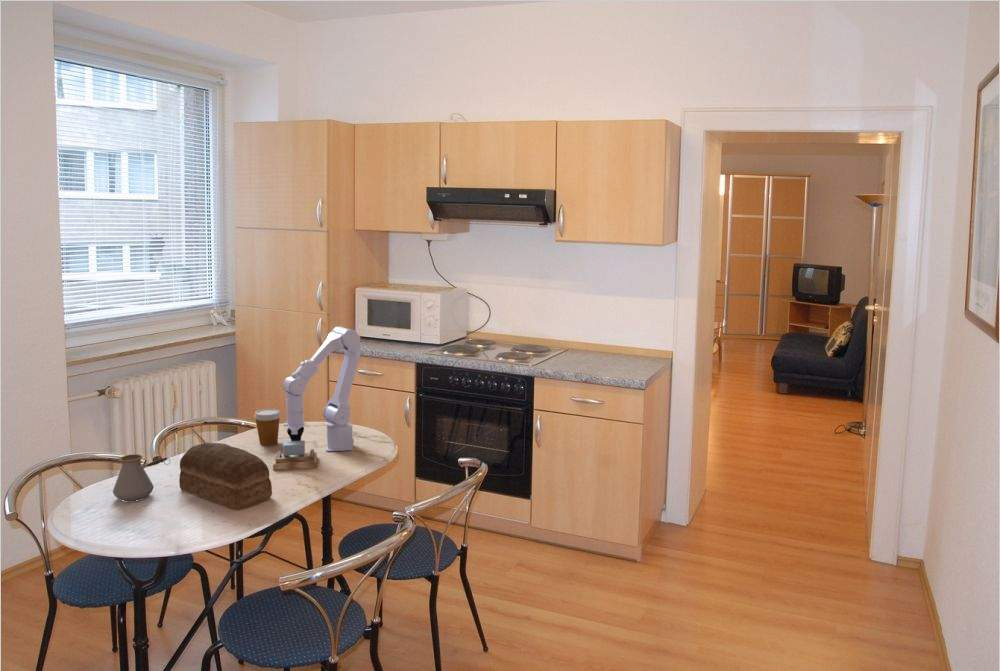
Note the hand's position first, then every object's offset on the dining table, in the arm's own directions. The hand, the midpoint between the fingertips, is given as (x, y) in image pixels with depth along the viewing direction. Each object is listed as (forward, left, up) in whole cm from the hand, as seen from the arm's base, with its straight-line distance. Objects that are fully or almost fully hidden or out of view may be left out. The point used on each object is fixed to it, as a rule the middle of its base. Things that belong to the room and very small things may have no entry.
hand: (296, 448), depth 300 cm
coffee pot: (+43, +34, -3) cm, 55 cm away
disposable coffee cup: (+11, -18, -3) cm, 21 cm away
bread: (+20, +33, -3) cm, 39 cm away
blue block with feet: (0, +7, -1) cm, 7 cm away
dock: (0, +7, -3) cm, 8 cm away
